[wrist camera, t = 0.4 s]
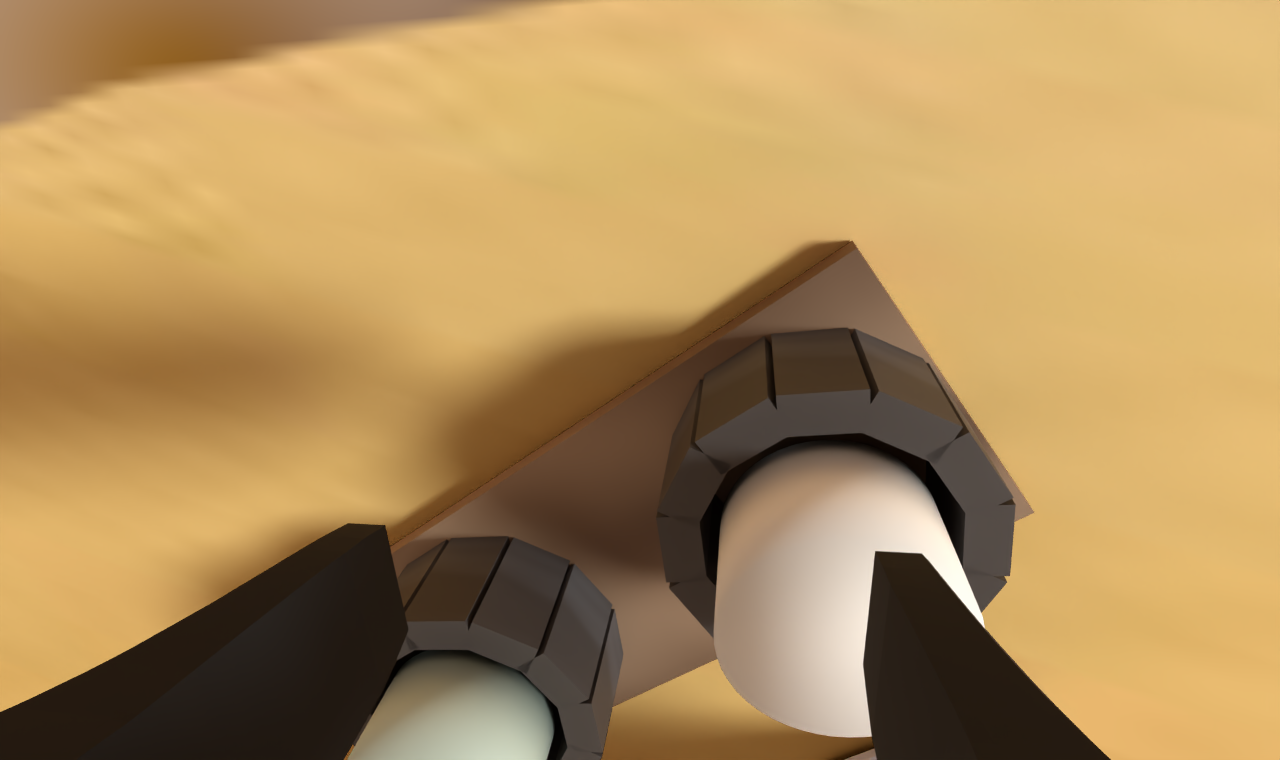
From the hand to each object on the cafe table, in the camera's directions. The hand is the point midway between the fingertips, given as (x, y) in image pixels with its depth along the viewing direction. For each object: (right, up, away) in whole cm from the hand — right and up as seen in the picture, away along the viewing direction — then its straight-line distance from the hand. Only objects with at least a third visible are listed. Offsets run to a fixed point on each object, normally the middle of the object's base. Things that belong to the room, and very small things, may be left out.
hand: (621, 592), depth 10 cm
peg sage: (-5, -7, +11) cm, 13 cm away
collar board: (+1, -2, +12) cm, 12 cm away
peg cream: (+5, 0, +6) cm, 8 cm away
